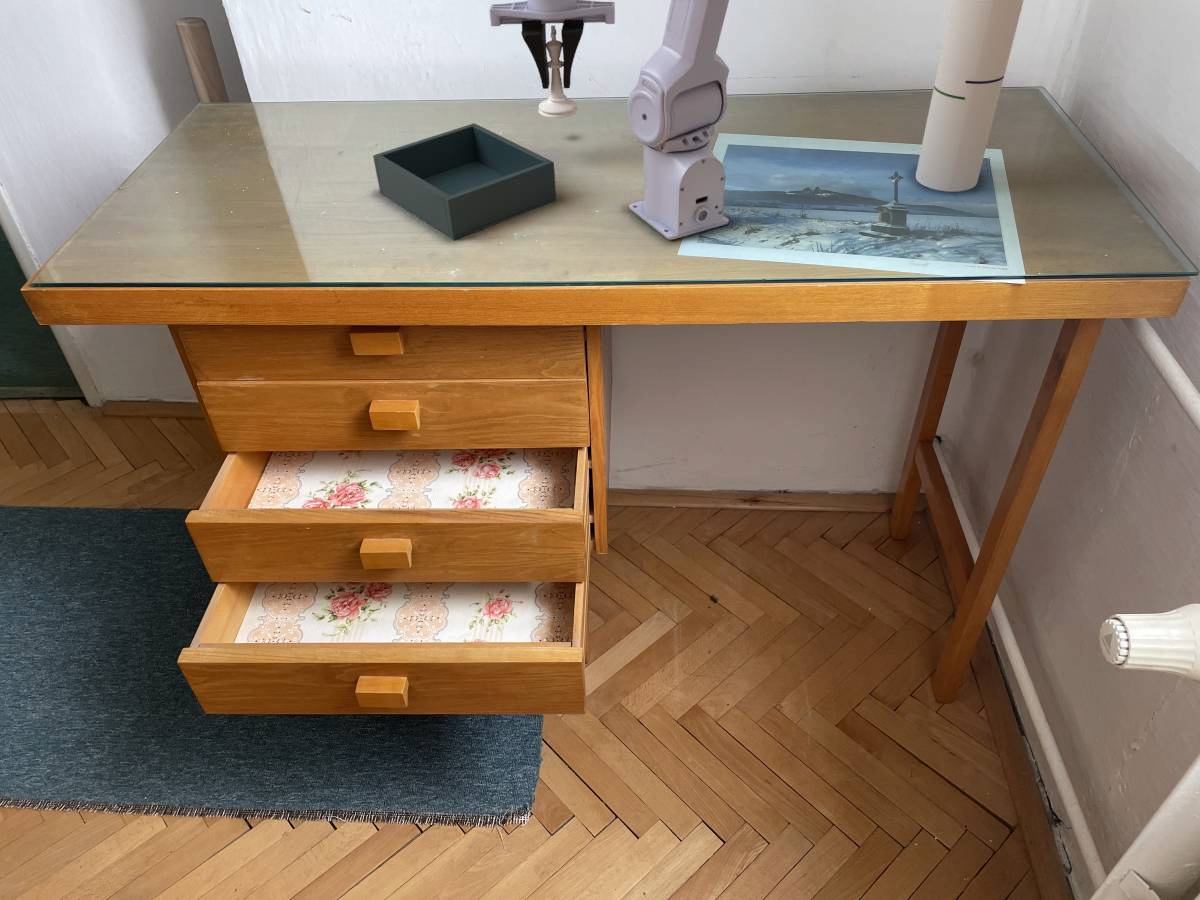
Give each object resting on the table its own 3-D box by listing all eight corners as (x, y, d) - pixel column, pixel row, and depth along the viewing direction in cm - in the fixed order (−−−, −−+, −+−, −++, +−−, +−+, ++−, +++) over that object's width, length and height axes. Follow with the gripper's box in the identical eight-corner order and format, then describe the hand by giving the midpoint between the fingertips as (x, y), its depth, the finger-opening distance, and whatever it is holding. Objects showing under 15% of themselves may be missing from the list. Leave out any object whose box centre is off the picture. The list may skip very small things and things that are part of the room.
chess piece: (579, 103, 116) (576, 19, 109) (575, 118, 112) (571, 32, 106) (541, 103, 116) (535, 19, 110) (535, 118, 113) (529, 32, 106)
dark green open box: (556, 200, 109) (554, 161, 106) (453, 240, 102) (447, 200, 99) (478, 159, 119) (474, 122, 116) (379, 193, 112) (372, 155, 109)
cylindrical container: (980, 193, 107) (1041, -43, 91) (917, 189, 109) (966, -44, 92) (973, 168, 113) (1030, -59, 96) (913, 165, 114) (960, -60, 98)
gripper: (614, -47, 106) (616, 73, 115) (490, -44, 107) (501, 75, 116) (613, -32, 101) (615, 93, 110) (482, -29, 101) (495, 95, 110)
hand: (556, 85), depth 112 cm, fingers closed on chess piece
